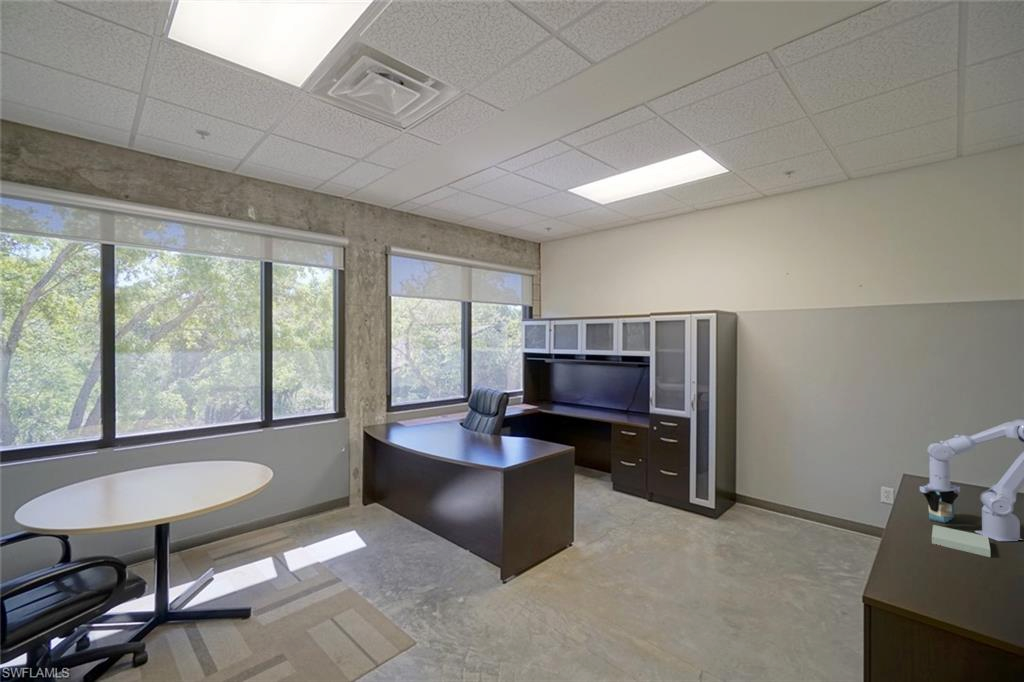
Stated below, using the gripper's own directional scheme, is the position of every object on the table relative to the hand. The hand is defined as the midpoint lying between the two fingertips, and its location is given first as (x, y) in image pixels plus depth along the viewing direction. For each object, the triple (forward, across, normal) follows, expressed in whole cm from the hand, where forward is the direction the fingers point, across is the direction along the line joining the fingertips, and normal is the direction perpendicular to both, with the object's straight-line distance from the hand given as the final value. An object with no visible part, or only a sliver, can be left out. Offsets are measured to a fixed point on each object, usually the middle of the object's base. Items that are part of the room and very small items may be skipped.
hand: (940, 510), depth 167 cm
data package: (+7, -9, -7) cm, 13 cm away
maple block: (+2, 0, 0) cm, 2 cm away
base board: (+6, +7, +13) cm, 16 cm away
